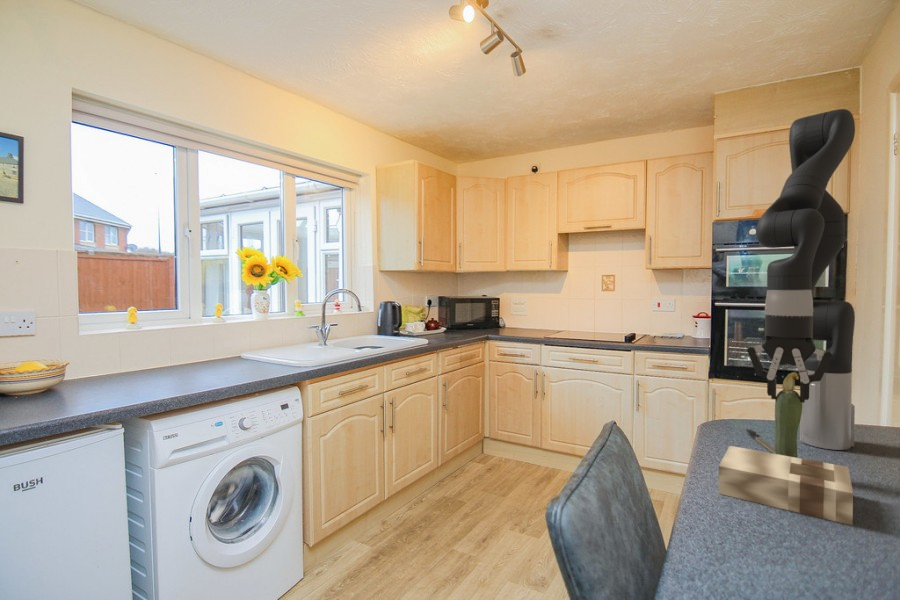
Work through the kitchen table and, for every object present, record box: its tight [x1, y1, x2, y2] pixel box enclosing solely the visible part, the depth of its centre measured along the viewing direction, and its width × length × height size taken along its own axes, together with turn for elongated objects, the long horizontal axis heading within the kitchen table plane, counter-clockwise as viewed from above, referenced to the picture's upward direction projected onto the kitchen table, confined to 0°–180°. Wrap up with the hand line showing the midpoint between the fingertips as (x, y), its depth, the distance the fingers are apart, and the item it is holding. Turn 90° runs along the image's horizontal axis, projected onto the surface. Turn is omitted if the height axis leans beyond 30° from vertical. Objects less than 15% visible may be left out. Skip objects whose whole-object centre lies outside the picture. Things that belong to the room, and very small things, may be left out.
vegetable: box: [774, 371, 802, 458], centre depth 91 cm, size 4×4×20 cm
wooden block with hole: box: [718, 445, 854, 526], centre depth 82 cm, size 18×13×5 cm
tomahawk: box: [745, 428, 776, 454], centre depth 105 cm, size 21×7×1 cm, turn 165°
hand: (787, 399), depth 91 cm, fingers closed on vegetable, 4 cm apart
